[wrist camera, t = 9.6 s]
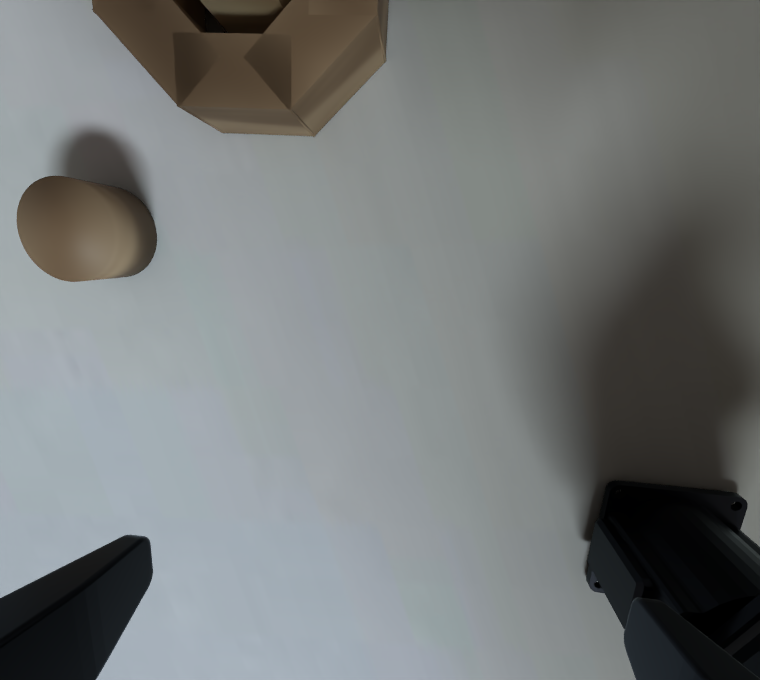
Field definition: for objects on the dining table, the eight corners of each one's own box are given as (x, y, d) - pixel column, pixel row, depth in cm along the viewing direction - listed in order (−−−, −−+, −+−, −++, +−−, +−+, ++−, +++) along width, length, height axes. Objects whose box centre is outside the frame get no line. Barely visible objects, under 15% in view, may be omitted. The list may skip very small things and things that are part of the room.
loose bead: (154, 188, 19) (106, 177, 16) (161, 279, 20) (117, 284, 17) (70, 185, 19) (8, 173, 17) (81, 274, 20) (25, 278, 18)
